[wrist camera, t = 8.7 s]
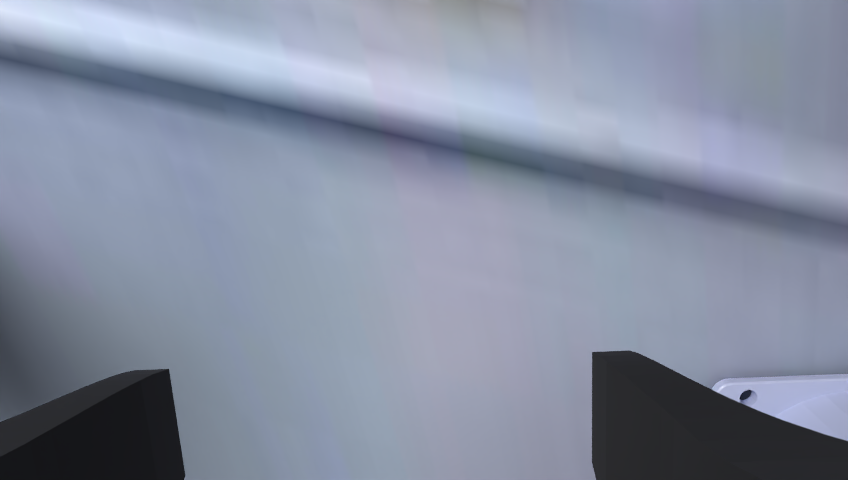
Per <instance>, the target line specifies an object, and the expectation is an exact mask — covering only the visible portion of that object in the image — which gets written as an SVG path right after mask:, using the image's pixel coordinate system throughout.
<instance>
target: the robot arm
mask: <svg viewBox="0 0 848 480" xmlns="http://www.w3.org/2000/svg"><path fill="white" fill-rule="evenodd" d="M746 390H752V393H751V396H750V397H748V398H747V399H745V400H740V399H739V398H740V395H741V394H742V393H743V392H744V391H746ZM592 464H593V468H594V472H595V476H596V480H848V374H829V375H803V376H776V377H750V378H727V379H723V380H720V381H719V382H717V383H716V384H715V385H714V386H713V388H712V390H711V389H709V388H707V387H705V386H703V385H701V384H699V383H697V382H695V381H693V380H691V379H689V378H687V377H685V376H683V375H681V374H679V373H677V372H675V371H673V370H671V369H669V368H667V367H665V366H664V365H662V364H660V363H658V362H656V361H654V360H651V359H649V358H647V357H645V356H643V355H641V354H638V353H636V352H632V351H609V352H592ZM184 478H185V471H184V465H183V458H182V452H181V445H180V439H179V432H178V426H177V419H176V413H175V406H174V400H173V393H172V387H171V380H170V374H169V369H158V370H134V371H130V372H125V373H121V374H118V375H115V376H112V377H109V378H106V379H104V380H101V381H99V382H96V383H94V384H91V385H89V386H86V387H84V388H81V389H79V390H76V391H74V392H72V393H69V394H67V395H65V396H62V397H60V398H58V399H55V400H53V401H51V402H48V403H46V404H44V405H41V406H39V407H37V408H34V409H32V410H30V411H27V412H25V413H22V414H20V415H17V416H15V417H12V418H10V419H7V420H5V421H2V422H0V480H184Z"/></svg>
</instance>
